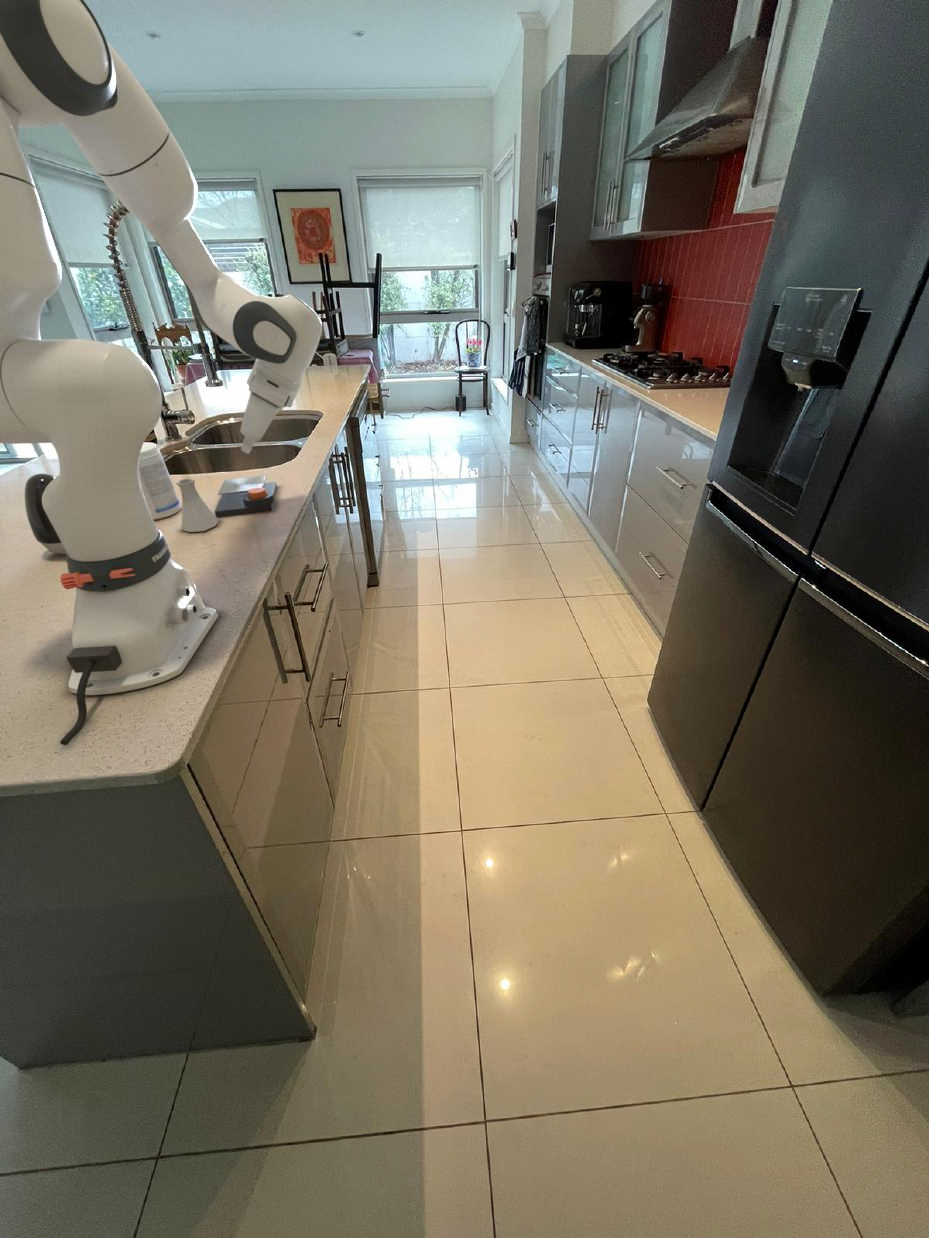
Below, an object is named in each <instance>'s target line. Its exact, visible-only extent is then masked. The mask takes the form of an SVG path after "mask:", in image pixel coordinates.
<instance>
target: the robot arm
mask: <svg viewBox="0 0 929 1238" xmlns="http://www.w3.org/2000/svg"><path fill="white" fill-rule="evenodd" d="M57 124H60V125H61V126H63V128H65V129H66V130H67V131H68V133H69V135H70V136H71V137H72V139H73V141H74V142H75V143H76V145H77V146H78V148H79V150H80V151H81V152H82V154H83V155H84V157H85V158H86V159H87V161H88V162H89V164H90V165H91V166H92V168H93V169H94V170H95V171H96V173H97V175H98V176H99V177H100V179H101V180H102V181H103V182H104V183H105V185H106V186H107V188H108V189H109V190H110V191H111V192H112V194H113V195H114V196H115V197H116V198H117V200H118V201H119V202H120V203H121V205H123V206H124V207H125V209H127V211H128V212H129V213H130V214H131V215H132V217H134V218H135V219H136V220H137V221H138V223H140V224H141V226H142V227H143V228H144V229H145V230H146V231H147V232H148V233H149V234H150V236H151V237H152V239H153V240H154V241H155V243H156V244H157V245H158V247H159V248H160V250H161V251H162V253H163V254H164V256H165V257H166V259H167V260H168V261H169V263H170V264H171V266H172V268H173V269H174V271H175V272H176V273H177V275H178V276H179V277H180V279H181V281H182V283H183V284H184V286H185V288H186V291H187V293H188V296H189V298H190V303H191V306H192V310H193V312H194V314H195V316H196V318H197V320H198V322H199V323H200V325H202V327H204V328H205V329H206V331H209V332H210V333H212V334H214V335H215V336H217V337H219V338H221V339H222V340H224V341H225V342H226V343H228V344H229V345H230V346H232V347H233V348H235V349H236V350H238V351H239V352H241V353H243V354H244V355H246V356H248V357H250V358H255V361H254V364H253V366H252V368H251V371H250V373H249V375H248V378H247V380H246V384H247V385H248V391H249V397H248V400H247V404H246V407H245V411H244V415H243V418H242V420H241V424H240V434H241V435H243V436H244V438H243V442H242V443H241V447H240V451H242V453H245V454H247V455H249V454H250V453H251V451H252V450H253V448H254V446H255V443H256V442H260V441H261V440H262V438H263V436H264V435H265V434H266V431H268V429H269V427H270V425H271V423H272V422H273V420H274V419H275V417H276V415H277V413H278V412H283V409H284V408H292V406H293V405H294V402H295V399H296V397H297V395H298V393H299V390H300V388H301V386H302V383H303V376H304V373H305V372H306V370H308V368H309V367H310V366H311V363H312V361H313V359H314V356H315V354H316V351H317V349H318V346H319V344H320V340H321V336H322V333H323V323H322V320H321V318H320V316H319V315H318V314H317V312H316V311H315V310H314V309H313V308H311V307H310V306H309V305H308V304H307V303H305V301H303V300H302V299H300V298H299V297H298V296H295V295H294V294H287V295H286V296H266V295H261V294H259V295H258V294H256V293H254V292H253V291H251V290H250V289H247V288H246V287H244V286H243V285H241V284H240V283H239V282H238V281H236V280H235V279H234V278H232V277H231V276H230V275H228V274H227V273H225V272H224V271H223V270H222V269H221V268H219V266H218V265H217V264H216V262H215V261H214V259H213V257H212V255H211V254H210V253H209V250H208V249H207V247H206V245H205V244H204V242H203V241H202V239H201V237H200V236H199V234H198V232H197V231H196V229H195V227H194V226H193V224H192V221H191V218H190V216H191V214H193V212H194V210H195V207H196V204H197V199H198V183H197V181H196V179H195V176H194V174H193V171H192V168H191V166H190V164H189V161H188V160H187V158H186V155H185V154H184V151H183V150H182V148H181V146H180V145H179V143H178V141H177V139H176V137H175V136H174V134H173V132H172V131H171V128H170V127H169V125H168V124H167V122H166V121H165V119H164V118H163V116H162V114H161V113H160V111H159V109H158V108H157V106H156V105H155V104H154V102H153V101H152V99H151V98H150V96H149V95H148V93H147V92H146V90H145V88H143V86H142V85H141V83H140V82H139V80H138V79H137V78H136V76H135V75H134V73H133V72H132V70H131V69H130V68H129V67H128V65H127V64H126V63H125V61H124V60H123V59H122V57H121V56H120V55H119V54H118V52H117V51H116V50H115V49H114V47H113V46H112V44H111V43H110V42H109V41H108V39H106V36H105V34H104V32H103V30H102V27H101V26H100V23H99V22H98V20H97V18H96V16H95V15H94V13H93V12H92V10H91V9H90V7H89V6H88V4H87V3H86V1H85V0H0V444H3V445H5V444H6V445H12V444H13V445H14V444H15V445H16V444H18V445H19V444H20V445H21V444H52V446H53V448H54V450H55V452H56V456H57V459H58V464H59V474H58V475H57V476H56V477H55V479H53V480H52V481H51V482H50V483H49V484H48V486H47V487H46V489H45V490H44V492H43V495H42V505H43V509H44V510H45V512H46V514H47V516H48V518H49V520H50V522H51V524H52V526H53V527H54V529H55V531H56V533H57V535H58V537H59V539H60V541H61V543H62V544H63V546H64V548H65V550H66V552H67V553H66V554H65V560H66V563H67V564H66V565H67V570H68V573H67V572H66V573H65V572H64V573H61V574H60V577H59V580H60V581H59V582H60V583H61V586H62V587H63V589H65V590H70V589H71V590H72V589H74V588H76V592H75V601H74V610H73V621H72V633H71V646H72V650H71V651H70V653H68V655H67V656H66V660H67V661H68V663H69V665H70V666H71V669H72V670H71V672H70V676H69V680H68V684H67V685H68V686H67V687H68V689H69V691H70V693H72V694H76V705H77V708H78V709H77V711H78V713H77V714H78V715H77V719H76V722H75V724H74V725H73V726H72V728H71V729H70V730H69V731H68V732H67V733H66V734H65V735H64V736H63V737H62V739H61V740H60V741H59V743H60V744H61V745H62V746H68V745H69V744H70V742H71V741H72V740H73V739H74V738H75V737H76V735H78V734H79V732H80V731H81V730H82V729H83V727H84V725H85V723H86V720H87V715H88V709H87V701H86V696H101V695H112V694H118V693H125V692H130V691H135V690H139V689H145V688H147V687H151V686H154V685H157V684H160V683H163V682H166V681H168V680H170V679H173V678H175V677H177V676H179V675H181V674H182V673H183V672H184V671H185V669H186V668H187V666H188V664H189V662H190V661H191V659H192V658H193V657H194V654H195V653H196V652H197V651H198V648H199V647H200V645H201V644H202V643H203V641H204V639H205V638H206V636H207V634H208V633H209V631H210V629H211V628H212V627H213V625H214V623H215V622H216V621H217V619H218V617H219V614H218V612H217V610H216V609H214V608H212V607H209V606H205V604H204V601H203V600H202V597H201V596H200V594H199V591H198V589H197V587H196V584H195V583H194V580H193V579H192V577H191V575H190V573H189V571H188V570H187V569H185V568H184V567H182V566H180V565H179V564H177V562H175V561H174V560H173V559H172V558H171V556H172V555H171V550H170V549H169V545H168V542H167V540H166V538H165V537H164V535H163V533H162V531H161V530H159V529H157V526H156V523H155V520H153V518H152V516H151V513H150V510H149V507H148V505H147V502H146V499H145V496H144V493H143V490H142V487H141V482H140V476H139V457H140V452H141V448H142V445H143V443H144V442H145V441H146V439H147V437H148V436H149V435H150V433H152V431H153V430H154V429H155V428H156V426H157V425H158V423H159V421H160V418H161V414H162V410H163V396H162V395H163V394H162V391H161V387H160V384H159V381H158V380H157V378H156V375H155V374H154V372H153V370H152V369H151V367H150V366H149V365H148V364H147V363H146V361H145V360H144V358H142V357H141V356H140V355H139V354H138V353H137V352H135V351H134V350H133V349H131V348H130V347H127V346H124V345H120V344H116V343H115V344H114V343H110V342H106V341H105V342H104V341H100V340H94V339H93V340H92V339H87V338H59V339H57V338H55V339H42V337H41V329H40V328H41V327H40V326H41V325H40V323H41V316H42V311H43V308H44V306H45V304H46V302H47V301H48V300H49V299H50V298H51V297H52V296H53V295H54V294H55V293H56V292H57V291H58V290H59V288H60V287H61V283H62V279H63V273H62V272H63V270H62V265H61V262H60V259H59V255H58V252H57V249H56V246H55V243H54V240H53V236H52V234H51V231H50V227H49V225H48V221H47V218H46V215H45V212H44V211H45V210H44V208H43V206H42V203H41V199H40V196H39V193H38V190H37V188H36V183H35V181H34V178H33V175H32V173H31V169H30V166H29V164H28V162H27V159H26V158H27V157H26V156H25V153H24V151H23V148H22V146H21V143H20V141H19V129H24V128H37V129H39V128H45V127H50V126H54V125H57Z"/></svg>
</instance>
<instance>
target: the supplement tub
mask: <svg viewBox="0 0 929 1238" xmlns="http://www.w3.org/2000/svg"><path fill="white" fill-rule="evenodd" d="M139 476H140V482H141V487H142V490H143V493H144V496H145V499H146V502H147V505H148V507H149V510H150V513H151V516H152V518H153V521H155V520H161V519H163V518H168V517H171V516H173V515H175V514H177V513H178V512H179V511H180V510H181V508H182V505H181V501H180V498H179V496H178V493H177V491H176V489H175V486H174V483H173V481H172V478H171V475H170V473H169V470H168V467H167V466H166V463H165V460H164V458H163V455H162V452H161V451H160V449H159V447H158V445H157V444H156V443H154V442H148V441H147V442H145V441H144V443H143V445H142V448H141V452H140V457H139Z"/></svg>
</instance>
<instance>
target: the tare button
mask: <svg viewBox="0 0 929 1238" xmlns="http://www.w3.org/2000/svg"><path fill="white" fill-rule="evenodd" d="M248 492H249V496H250V499H259V498H263V497H265V496H267V495H266V491H265V489H264V488H254V489H251V490H249V491H248Z"/></svg>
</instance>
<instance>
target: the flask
mask: <svg viewBox="0 0 929 1238" xmlns="http://www.w3.org/2000/svg"><path fill="white" fill-rule="evenodd" d="M176 485H177V486H178V487H179V489H180V493H181V499H182V505H181V508H182V509H181V511H182V512H181V527H180V528H181V531H185V532H189V533H195V532H196V533H197V532H205V531H207V530H209V529H212V528H214V527H216V526H217V525H218V523H219V522H220V519H219V517H216V515H215V512H213V511H212V510H211V509H210V508H209V506H208V505H207V503H206V502H205V500H203V499H202V497H201V495H200V494H199V492H198V490H197V488H196V486H195V479H194V478H191V477H189V478H182V479H179V480H178V481H176Z"/></svg>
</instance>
